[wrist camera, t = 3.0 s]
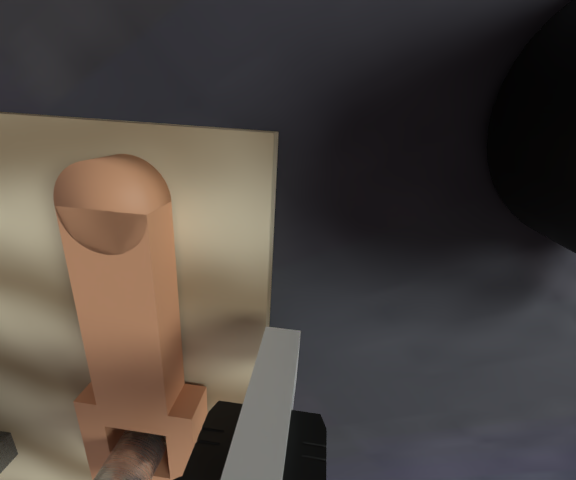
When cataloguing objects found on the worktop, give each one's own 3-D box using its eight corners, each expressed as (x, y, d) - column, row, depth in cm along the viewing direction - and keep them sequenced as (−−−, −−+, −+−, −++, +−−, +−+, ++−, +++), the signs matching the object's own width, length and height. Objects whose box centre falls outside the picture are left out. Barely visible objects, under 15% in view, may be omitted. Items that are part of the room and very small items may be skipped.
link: (209, 463, 19) (197, 499, 17) (114, 447, 20) (92, 482, 18) (197, 159, 13) (174, 167, 11) (56, 148, 13) (13, 153, 11)
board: (-181, 99, 15) (-221, 97, 14) (278, 131, 13) (274, 133, 12) (-15, 484, 26) (-31, 501, 24) (259, 533, 24) (255, 554, 23)
